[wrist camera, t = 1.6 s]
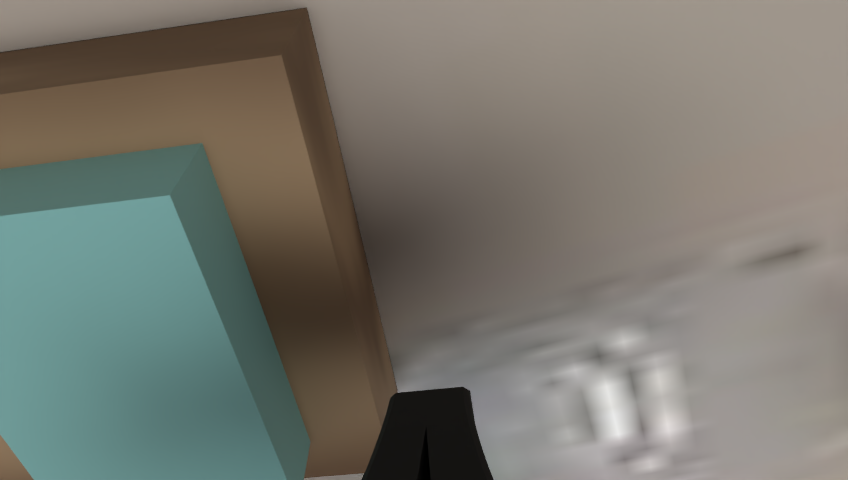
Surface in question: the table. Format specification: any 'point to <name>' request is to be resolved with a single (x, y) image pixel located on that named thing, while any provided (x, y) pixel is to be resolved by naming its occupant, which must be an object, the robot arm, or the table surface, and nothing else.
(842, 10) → the table surface
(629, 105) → the table surface
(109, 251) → the teal rectangular block
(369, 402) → the deck
